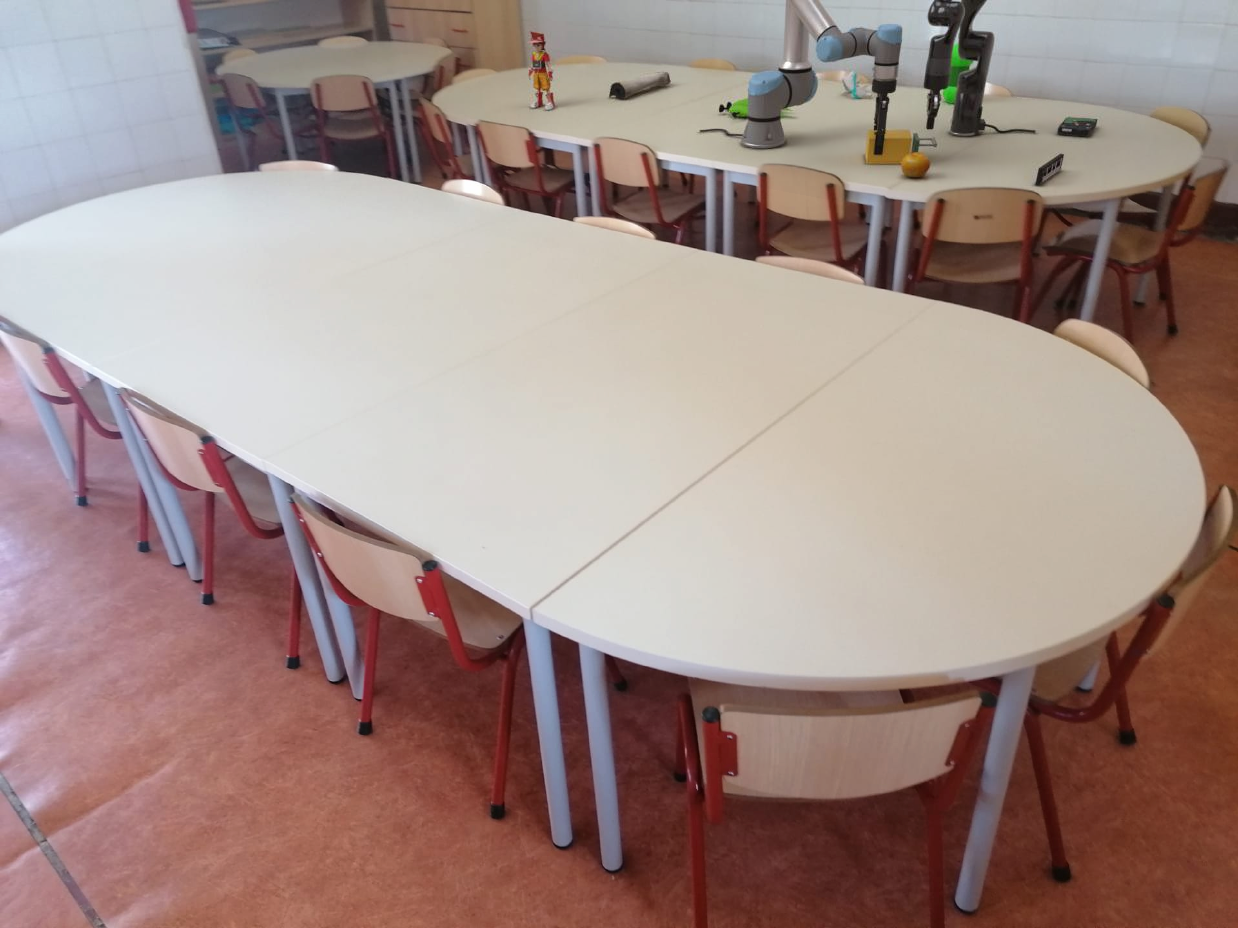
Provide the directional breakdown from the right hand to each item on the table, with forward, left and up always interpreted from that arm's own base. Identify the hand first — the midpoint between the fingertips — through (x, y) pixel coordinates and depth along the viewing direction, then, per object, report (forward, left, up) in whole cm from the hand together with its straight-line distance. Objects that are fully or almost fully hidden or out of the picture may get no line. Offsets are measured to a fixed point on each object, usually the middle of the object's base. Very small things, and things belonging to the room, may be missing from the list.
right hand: (929, 129), depth 291 cm
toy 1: (+152, -72, -10) cm, 168 cm away
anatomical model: (+22, -90, -10) cm, 93 cm away
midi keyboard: (-35, +19, -10) cm, 41 cm away
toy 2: (+59, -59, -10) cm, 84 cm away
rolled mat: (+114, -98, -10) cm, 151 cm away
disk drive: (-53, -35, -10) cm, 64 cm away
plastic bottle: (-16, -77, -10) cm, 79 cm away
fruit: (+5, +18, -10) cm, 21 cm away
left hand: (+16, 0, -7) cm, 17 cm away
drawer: (+6, 0, -9) cm, 11 cm away
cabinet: (+12, 0, -10) cm, 16 cm away
